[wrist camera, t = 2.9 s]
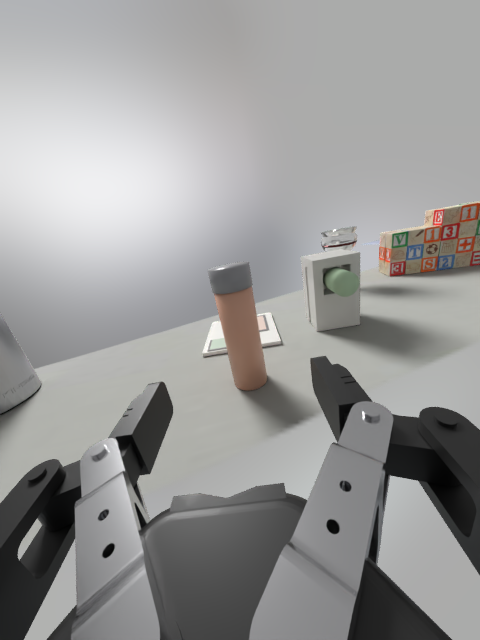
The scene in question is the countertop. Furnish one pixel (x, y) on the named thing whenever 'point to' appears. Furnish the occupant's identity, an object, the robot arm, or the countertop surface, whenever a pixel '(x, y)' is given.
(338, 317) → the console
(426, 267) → the stack of blocks
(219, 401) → the countertop surface
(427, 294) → the countertop surface
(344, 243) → the wineglass
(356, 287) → the button
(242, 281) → the terracotta marker
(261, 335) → the white square board
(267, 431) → the countertop surface
